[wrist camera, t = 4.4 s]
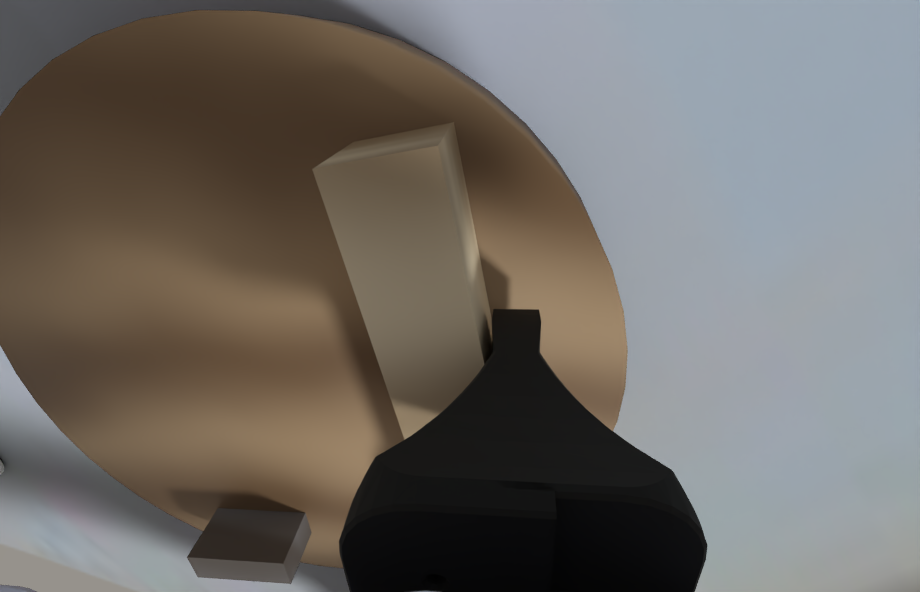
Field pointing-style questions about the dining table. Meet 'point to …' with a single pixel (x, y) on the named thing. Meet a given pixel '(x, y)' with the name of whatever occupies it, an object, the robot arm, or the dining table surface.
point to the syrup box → (1, 467)
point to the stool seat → (255, 266)
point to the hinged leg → (412, 264)
